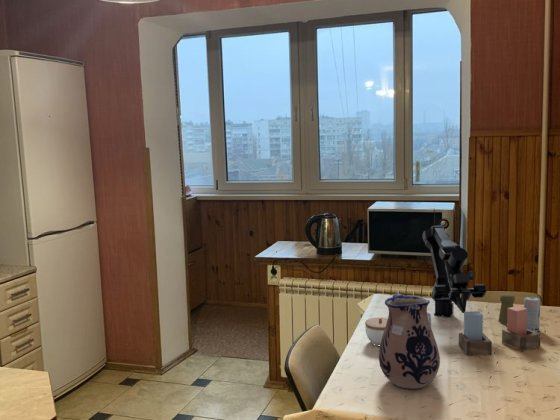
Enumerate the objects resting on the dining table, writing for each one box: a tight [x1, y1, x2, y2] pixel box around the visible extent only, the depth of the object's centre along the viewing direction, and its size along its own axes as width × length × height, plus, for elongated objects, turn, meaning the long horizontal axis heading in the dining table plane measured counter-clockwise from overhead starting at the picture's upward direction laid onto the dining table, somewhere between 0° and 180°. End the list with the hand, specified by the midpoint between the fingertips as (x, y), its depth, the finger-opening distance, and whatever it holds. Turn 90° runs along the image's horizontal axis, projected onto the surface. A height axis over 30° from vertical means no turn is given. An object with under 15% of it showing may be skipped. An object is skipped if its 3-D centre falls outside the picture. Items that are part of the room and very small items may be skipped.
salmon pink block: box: [506, 305, 527, 336], centre depth 191 cm, size 4×5×12 cm
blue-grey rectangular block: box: [463, 310, 484, 341], centre depth 187 cm, size 4×5×12 cm
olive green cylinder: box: [498, 293, 516, 325], centre depth 212 cm, size 6×6×11 cm
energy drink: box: [523, 296, 541, 332], centre depth 202 cm, size 5×5×12 cm
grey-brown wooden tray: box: [501, 328, 542, 352], centre depth 189 cm, size 9×8×4 cm
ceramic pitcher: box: [378, 292, 441, 390], centre depth 163 cm, size 18×21×25 cm
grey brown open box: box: [457, 332, 493, 357], centre depth 186 cm, size 9×8×4 cm
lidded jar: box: [364, 317, 388, 346], centre depth 195 cm, size 11×11×9 cm
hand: (463, 312), depth 197 cm, fingers closed
